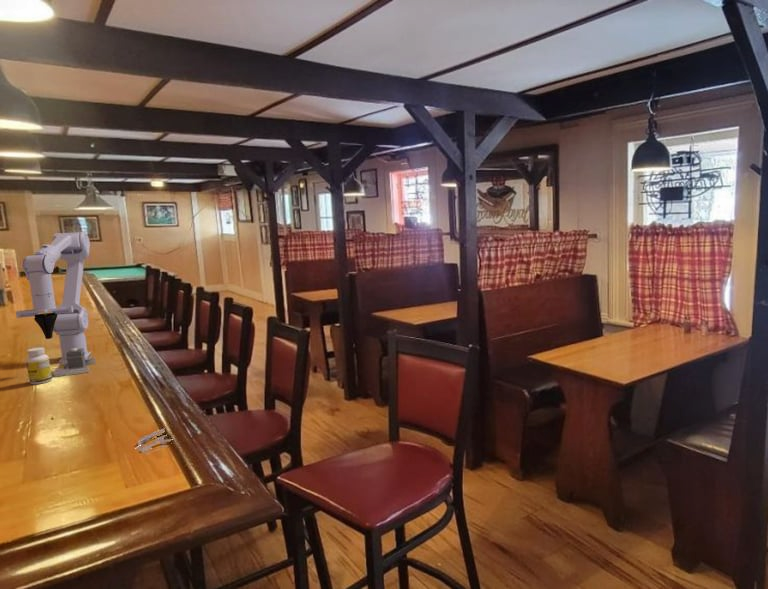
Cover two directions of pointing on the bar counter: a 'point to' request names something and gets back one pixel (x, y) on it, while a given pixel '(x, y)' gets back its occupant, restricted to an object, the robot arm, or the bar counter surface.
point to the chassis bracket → (64, 370)
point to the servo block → (76, 358)
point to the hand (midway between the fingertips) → (49, 338)
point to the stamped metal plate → (148, 438)
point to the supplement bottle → (38, 366)
